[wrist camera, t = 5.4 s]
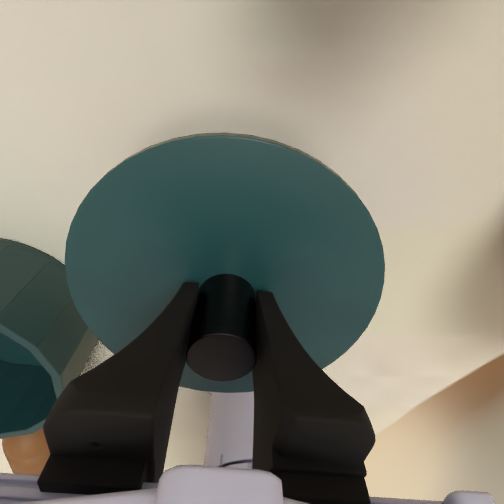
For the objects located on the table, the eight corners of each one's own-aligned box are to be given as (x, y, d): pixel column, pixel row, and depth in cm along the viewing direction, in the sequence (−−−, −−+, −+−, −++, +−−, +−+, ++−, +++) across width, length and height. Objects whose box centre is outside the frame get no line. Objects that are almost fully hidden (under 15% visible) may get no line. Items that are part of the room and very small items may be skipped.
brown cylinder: (75, 445, 37) (55, 493, 33) (32, 442, 36) (6, 490, 32) (65, 400, 32) (40, 448, 28) (16, 395, 32) (-17, 444, 28)
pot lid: (263, 38, 11) (272, 33, 7) (423, 304, 17) (477, 384, 13) (10, 255, 15) (-75, 330, 11) (209, 405, 21) (201, 488, 17)
